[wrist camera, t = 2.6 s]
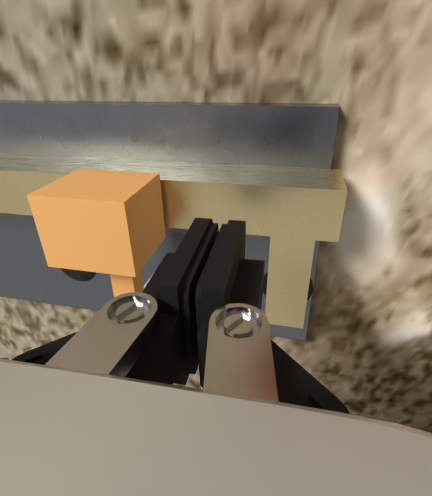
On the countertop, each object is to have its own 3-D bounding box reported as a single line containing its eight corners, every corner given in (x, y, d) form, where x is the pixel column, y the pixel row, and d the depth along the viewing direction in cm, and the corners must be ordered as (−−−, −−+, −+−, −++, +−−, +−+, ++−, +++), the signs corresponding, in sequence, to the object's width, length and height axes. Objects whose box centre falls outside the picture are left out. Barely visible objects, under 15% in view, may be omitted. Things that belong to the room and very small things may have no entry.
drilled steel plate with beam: (349, 104, 16) (360, 118, 13) (313, 331, 23) (314, 379, 20) (-94, 99, 21) (-169, 108, 18) (-16, 285, 28) (-60, 317, 25)
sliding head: (179, 156, 18) (123, 202, 12) (188, 287, 22) (149, 365, 16) (108, 153, 19) (27, 195, 13) (129, 279, 23) (73, 352, 17)
